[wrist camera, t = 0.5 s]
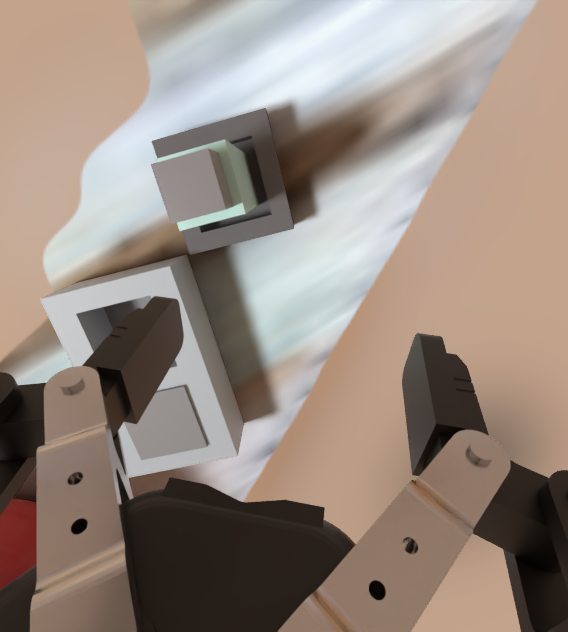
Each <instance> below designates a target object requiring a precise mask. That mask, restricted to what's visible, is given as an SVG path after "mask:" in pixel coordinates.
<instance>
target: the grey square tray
mask: <svg viewBox="0 0 568 632" xmlns="http://www.w3.org/2000/svg"><path fill="white" fill-rule="evenodd" d="M224 139H225V140H227V141H228V142H230V143H231V144H232V145H234V146H235V147H237V148H238V149H240V150H241V151H243V152H244V153H246V156H247V160H248V164H249V168H250V172H251V175H252V179H253V183H254V187H255V191H256V194H257V198H258V202H259V205H258V206H257V207H255V208H254V209H252V210H250V211H249V212H247V213H246V214H243V215H239V216H235V217H231V218H227V219H224V220H220V221H216V222H212V223H208V224H205V225H201V226H197V227H193V228H189V229H186V230H182V233H183V236H184V239H185V242H186V245H187V248H188V251H189V254H190V255H192V254H196V253H200V252H204V251H208V250H212V249H216V248H220V247H223V246H227V245H231V244H235V243H239V242H243V241H247V240H251V239H255V238H259V237H263V236H267V235H270V234H274V233H278V232H282V231H286V230H290V229H294V224H293V220H292V215H291V211H290V207H289V203H288V199H287V194H286V190H285V186H284V182H283V178H282V173H281V169H280V165H279V161H278V157H277V153H276V148H275V144H274V140H273V136H272V132H271V127H270V123H269V119H268V115H267V112H266V109H265V108H264V109H261V110H257V111H254V112H251V113H247V114H244V115H240V116H237V117H233V118H230V119H226V120H223V121H219V122H216V123H213V124H209V125H206V126H202V127H199V128H195V129H192V130H188V131H185V132H181V133H178V134H175V135H171V136H168V137H164V138H161V139H157V140H154V141H152V143H153V146H154V149H155V152H156V155H157V158H161V157H164V156H168V155H171V154H175V153H179V152H182V151H186V150H189V149H193V148H196V147H200V146H203V145H207V144H210V143H214V142H217V141H221V140H224Z"/></svg>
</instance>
